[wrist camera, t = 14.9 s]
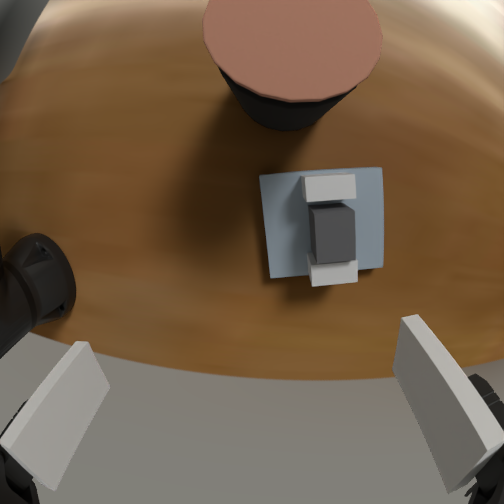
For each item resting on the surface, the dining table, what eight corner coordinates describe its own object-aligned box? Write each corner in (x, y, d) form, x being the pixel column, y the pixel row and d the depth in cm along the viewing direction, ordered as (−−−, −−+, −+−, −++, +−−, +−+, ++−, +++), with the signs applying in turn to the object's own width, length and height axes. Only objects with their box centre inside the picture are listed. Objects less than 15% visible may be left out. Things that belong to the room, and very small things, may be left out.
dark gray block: (311, 248, 33) (317, 263, 28) (308, 205, 31) (314, 213, 26) (344, 245, 32) (355, 260, 27) (342, 202, 31) (354, 210, 26)
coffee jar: (277, 35, 27) (277, -57, 10) (347, 88, 28) (413, 31, 11) (219, 95, 30) (164, 38, 13) (290, 150, 31) (310, 140, 14)
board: (270, 271, 36) (269, 293, 30) (259, 175, 32) (257, 178, 27) (377, 261, 34) (394, 280, 29) (375, 167, 31) (395, 169, 25)
